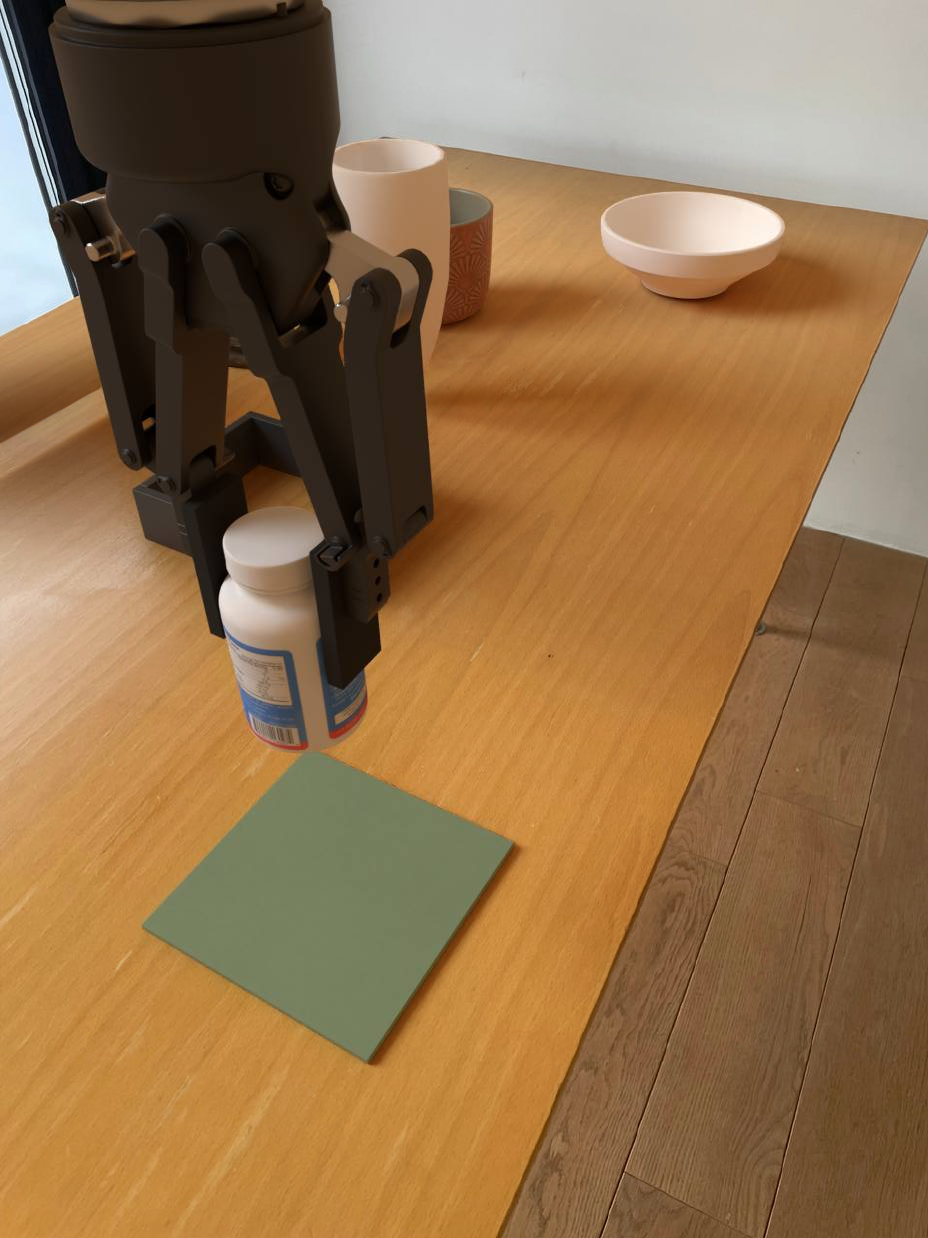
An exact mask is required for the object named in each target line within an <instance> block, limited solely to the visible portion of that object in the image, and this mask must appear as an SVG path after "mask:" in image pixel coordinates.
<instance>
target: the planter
mask: <svg viewBox="0 0 928 1238" xmlns="http://www.w3.org/2000/svg"><path fill="white" fill-rule="evenodd" d="M449 203H450V255H449V280H448V286H447V292H446V298H445V304H444V309H443V315H442V321H441V325H446V324H452V323H457V322H460V321H463V320H465V319H468V318H469V317H471V316H473V315H474V314H476V313H477V312H478V311H479V310H481V308H482V307H483V306H484V304H485V303H486V300H487V297H488V293H489V288H490V281H491V271H492V256H493V255H492V254H493V232H494V231H493V230H494V228H493V227H494V204H493V202H492V201H491V199H490V198H488V197H487V196H485V195H484V194H482V193H479V192H476V191H474V190H469V189H465V188H459V187H451V186H449Z"/></svg>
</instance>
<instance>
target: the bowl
mask: <svg viewBox="0 0 928 1238" xmlns="http://www.w3.org/2000/svg"><path fill="white" fill-rule="evenodd" d="M786 230H787V227H786V223H785V221H784V220H783V218H782V217H781V216H780V215H779V214H778V213H777V212H776V211H773V210H772V209H771V208H768V207H766V206H764V205H763V204H761V203H757V202H755V201H751V200H748V199H745V198H741V197H736V196H734V195H733V196H732V195H727V194H720V193H716V192H715V193H714V192H703V191H683V190H682V191H662V192H651V193H646V194H639V195H635V196H631V197H628V198H624V199H622V200H620V201H617V202H615V203H613V204H612V205H610V206H609V207H608V208H606V210H605V211H604V212H603V214H602V215H601V219H600V236H601V241H602V245H603V248H604V250H605V252H606V253H607V254H608V255H609V256H610V257H611V258H612V259H614V260H615V261H617V262H618V263H620V264H621V265H622V266H623V267H624V268H626V269H627V270H628V271H629V272H631V273H632V274H633V275H635V276H636V277H637V278H638V279H639V280H640V282H641V284H642V285H643V287H645V288H646V289H648V290H649V291H651V292H653V293H655V294H658V295H662V296H664V297H670V298H678V299H703V298H710V297H714V296H717V295H719V294H722V293H724V292H725V291H726V290H727V289H728V288H729V287H730V286H731V285H732V284H734V283H735V282H738V281H740V280H742V279H744V278H746V277H747V276H749V275H751V274H753V273H754V272H756V271H759V270H762V269H764V268H765V267H767V266H768V265H770V264H771V263H773V261H774V260H775V259H776V258H777V256H778V254H779V251H780V249H781V248H782V244H783V242H784V239H785V234H786V232H787V231H786Z"/></svg>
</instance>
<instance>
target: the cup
mask: <svg viewBox="0 0 928 1238" xmlns="http://www.w3.org/2000/svg"><path fill="white" fill-rule="evenodd" d="M447 155H448V154H447V153H446V152H445V150H444V149H442V148H441V147H439V146H438V145H437V144H434V143H430V142H427V141H423V140H417V139H409V138H408V139H407V138H374V139H367V140H360V141H355V142H351V143H348V144H344V145H340V146H338V147H336V148H335V153H334V158H333V166H332V173H333V179H334V183H335V186H336V189H337V192H338V194H339V197H340V199H341V201H342V203H343V205H344V207H345V209H346V211H347V213H348V216H349V219H350V223H351V232H352V233H354V234H355V235H357V236H359V237H360V238H362V239H364V240H366V241H367V242H369V243H371V244H372V245H374V246H376V247H377V248H379V249H381V250H383V251H384V252H386V253H388V254H389V255H391V256H394V257H395V256H396V255H398V254H400V253H401V252H403V251H405V250H407V249H412V248H414V249H417V250H420V251H421V252H423V253H424V254H425V255H426V256H427V257H428V259H429V261H430V262H431V265H432V269H433V279H432V282H431V286H430V290H429V294H428V298H427V302H426V305H425V309H424V313H423V317H422V321H421V324H420V333H421V346H422V359H423V373H424V374H425V373H426V370H427V368H428V366H429V363H430V361H431V360H432V359H431V358H432V356H433V353H434V350H435V346H436V343H437V340H438V337H439V333H440V330H441V326H442V324H441V321H442V315H443V309H444V304H445V298H446V292H447V286H448V280H449V255H450V203H449V187H450V186H449V173H448V172H449V171H448V170H449V169H448V156H447Z"/></svg>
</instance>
